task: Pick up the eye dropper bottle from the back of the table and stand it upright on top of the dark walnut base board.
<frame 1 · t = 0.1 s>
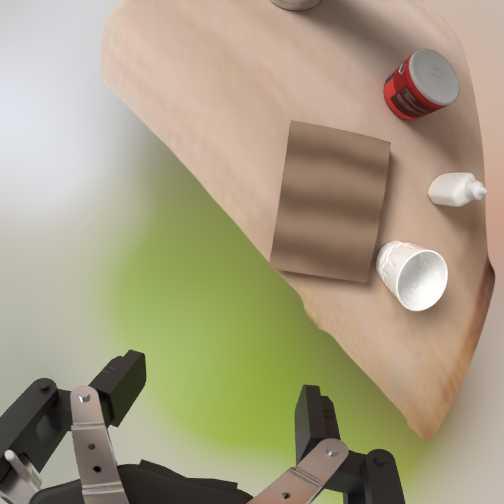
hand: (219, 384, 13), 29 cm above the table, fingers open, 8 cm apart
eye dropper bottle: (438, 188, 37), on the table
white cup: (394, 261, 40), on the table
canned food: (403, 97, 34), on the table
walnut base board: (329, 202, 39), on the table
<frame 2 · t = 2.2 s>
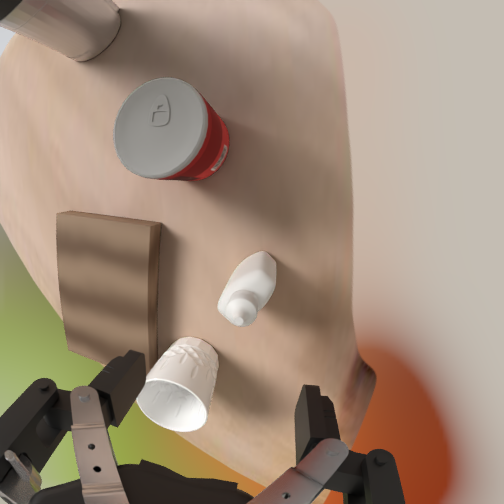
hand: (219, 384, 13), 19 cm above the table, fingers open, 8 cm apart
eye dropper bottle: (252, 271, 31), on the table
white cup: (194, 357, 35), on the table
canned food: (196, 145, 29), on the table
walnut base board: (110, 292, 34), on the table
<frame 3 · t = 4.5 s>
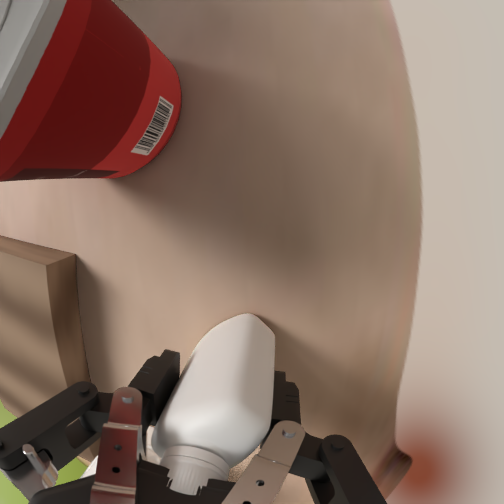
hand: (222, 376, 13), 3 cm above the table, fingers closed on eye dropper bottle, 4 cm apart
eye dropper bottle: (231, 346, 16), on the table, touching gripper
white cup: (153, 444, 20), on the table
canned food: (127, 113, 14), on the table
walnut base board: (32, 347, 19), on the table
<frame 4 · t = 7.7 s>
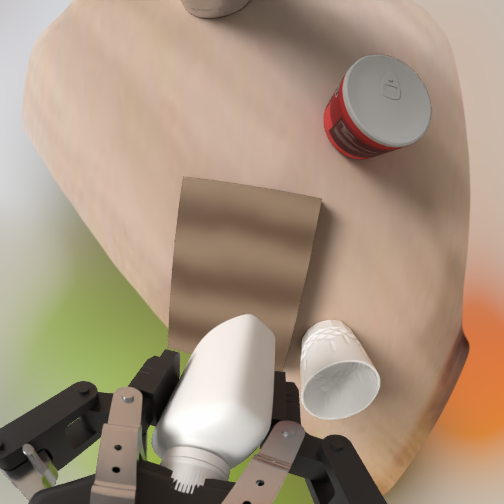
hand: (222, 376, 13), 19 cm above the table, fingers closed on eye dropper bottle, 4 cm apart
eye dropper bottle: (231, 346, 16), point 16 cm above the table, touching gripper
white cup: (327, 342, 33), on the table
canned food: (354, 126, 28), on the table
walnut base board: (239, 274, 32), on the table
when the fingers open (8 cm above the table, at t = 10.9 s): eye dropper bottle drops 2 cm, resting on walnut base board.
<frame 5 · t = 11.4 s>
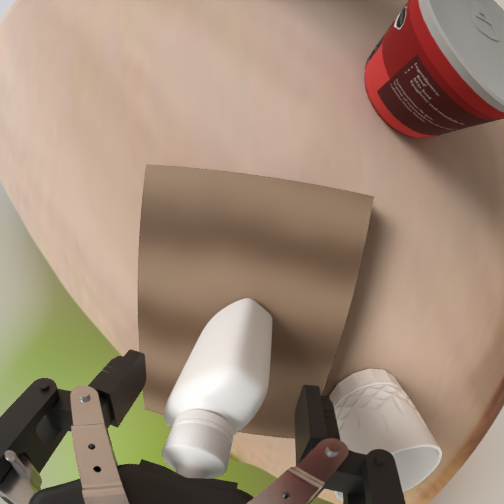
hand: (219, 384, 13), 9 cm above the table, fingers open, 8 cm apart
eye dropper bottle: (234, 330, 18), point 3 cm above the table, touching walnut base board
white cup: (362, 394, 22), on the table
canned food: (405, 91, 16), on the table
walnut base board: (240, 313, 21), on the table
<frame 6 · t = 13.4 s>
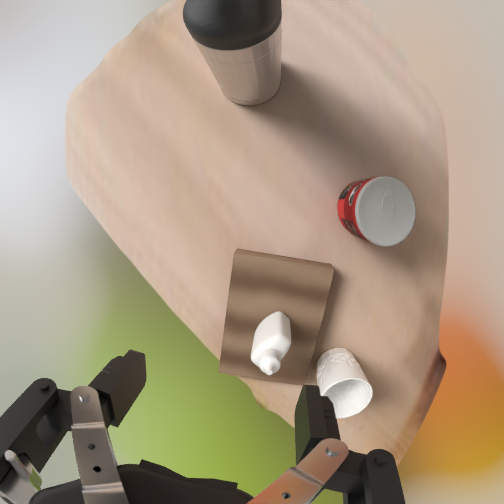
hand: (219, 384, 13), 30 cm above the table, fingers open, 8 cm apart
eye dropper bottle: (272, 325, 41), point 3 cm above the table, touching walnut base board
white cup: (335, 363, 44), on the table
canned food: (360, 207, 39), on the table
walnut base board: (273, 318, 43), on the table
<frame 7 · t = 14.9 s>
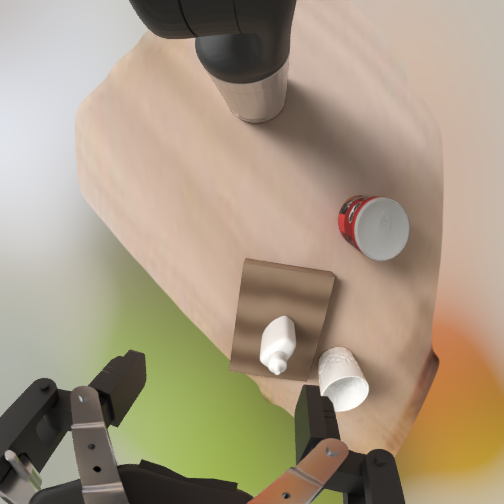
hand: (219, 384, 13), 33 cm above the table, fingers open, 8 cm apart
eye dropper bottle: (277, 328, 45), point 3 cm above the table, touching walnut base board
white cup: (335, 360, 48), on the table
canned food: (359, 220, 43), on the table
walnut base board: (278, 321, 47), on the table
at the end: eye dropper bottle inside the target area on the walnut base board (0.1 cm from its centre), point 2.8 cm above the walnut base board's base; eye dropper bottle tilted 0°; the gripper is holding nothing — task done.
